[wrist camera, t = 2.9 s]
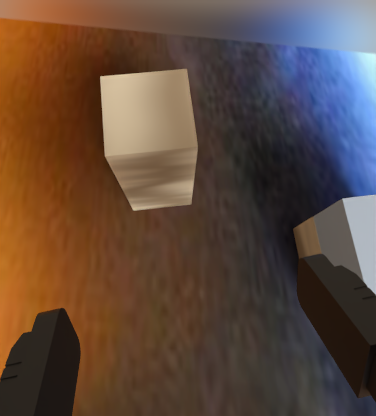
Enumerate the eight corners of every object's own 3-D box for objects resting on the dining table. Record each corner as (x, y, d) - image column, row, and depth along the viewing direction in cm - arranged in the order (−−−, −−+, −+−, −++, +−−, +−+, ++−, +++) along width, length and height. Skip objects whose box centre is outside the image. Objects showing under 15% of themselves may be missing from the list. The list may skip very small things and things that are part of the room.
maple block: (133, 210, 25) (105, 156, 16) (129, 157, 26) (100, 76, 17) (191, 204, 25) (197, 147, 16) (184, 151, 27) (186, 68, 17)
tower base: (309, 309, 24) (334, 311, 20) (292, 229, 25) (312, 216, 21) (388, 298, 24) (428, 299, 20) (366, 220, 26) (399, 206, 22)
